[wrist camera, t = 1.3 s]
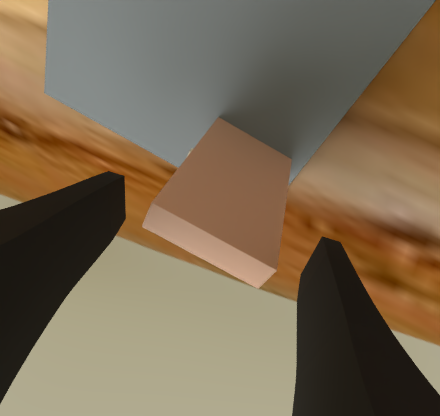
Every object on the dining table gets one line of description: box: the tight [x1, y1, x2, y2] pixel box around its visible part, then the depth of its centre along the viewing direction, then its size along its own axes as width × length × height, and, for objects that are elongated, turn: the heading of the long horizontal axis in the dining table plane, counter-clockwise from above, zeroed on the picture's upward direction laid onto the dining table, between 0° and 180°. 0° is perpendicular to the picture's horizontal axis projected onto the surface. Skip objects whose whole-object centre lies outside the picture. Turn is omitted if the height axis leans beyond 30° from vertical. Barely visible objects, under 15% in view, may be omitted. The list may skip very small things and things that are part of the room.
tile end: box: [142, 117, 292, 288], centre depth 13 cm, size 5×1×8 cm, turn 64°
